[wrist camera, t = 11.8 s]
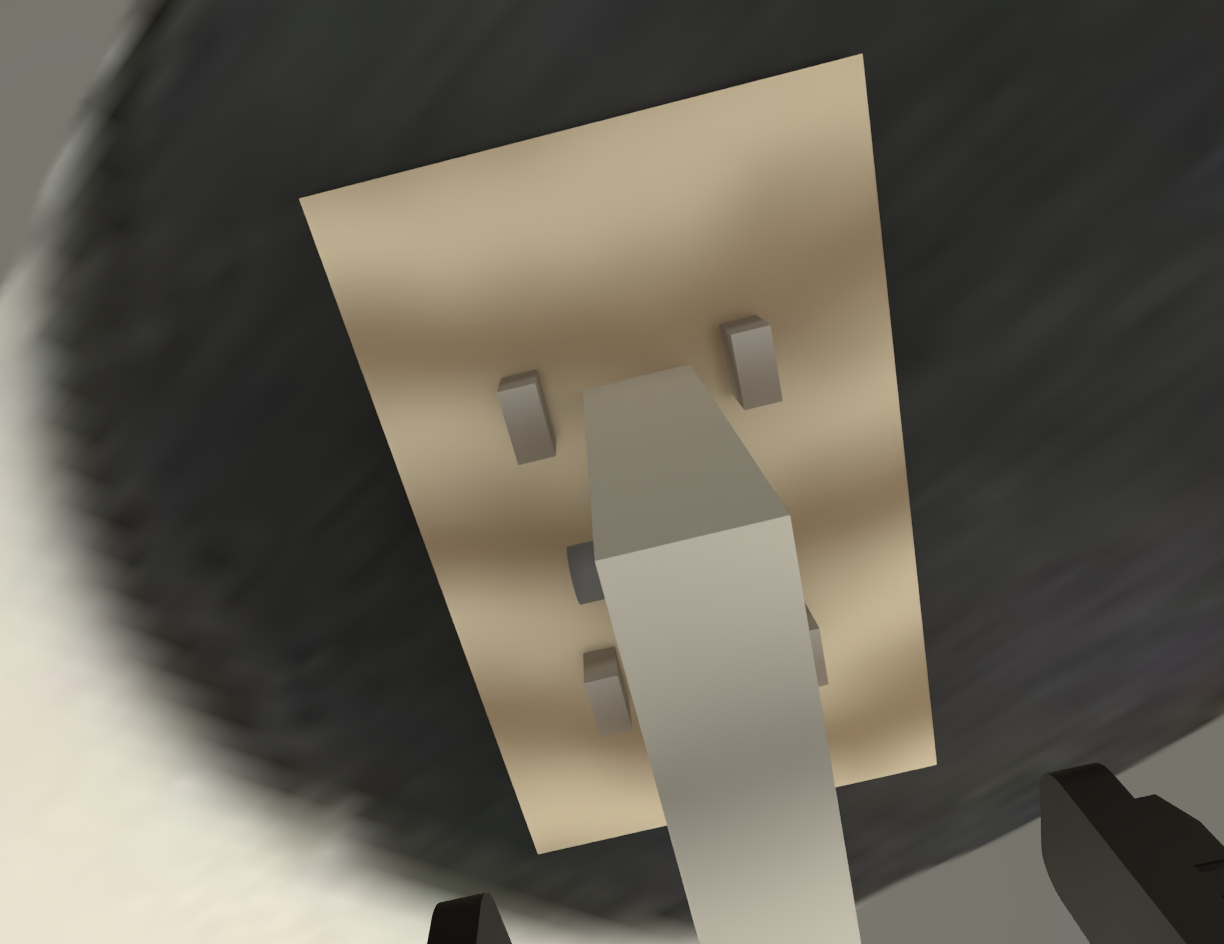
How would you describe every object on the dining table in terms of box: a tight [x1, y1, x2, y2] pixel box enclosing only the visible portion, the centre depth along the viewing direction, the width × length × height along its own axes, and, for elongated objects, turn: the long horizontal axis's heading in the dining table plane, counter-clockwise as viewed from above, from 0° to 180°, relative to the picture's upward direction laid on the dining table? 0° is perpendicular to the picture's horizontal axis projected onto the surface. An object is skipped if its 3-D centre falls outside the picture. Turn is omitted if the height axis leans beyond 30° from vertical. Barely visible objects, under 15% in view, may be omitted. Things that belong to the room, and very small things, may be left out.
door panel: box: [567, 364, 861, 944], centre depth 18 cm, size 12×4×10 cm, turn 13°
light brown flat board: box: [299, 54, 937, 854], centre depth 22 cm, size 22×14×2 cm, turn 13°
